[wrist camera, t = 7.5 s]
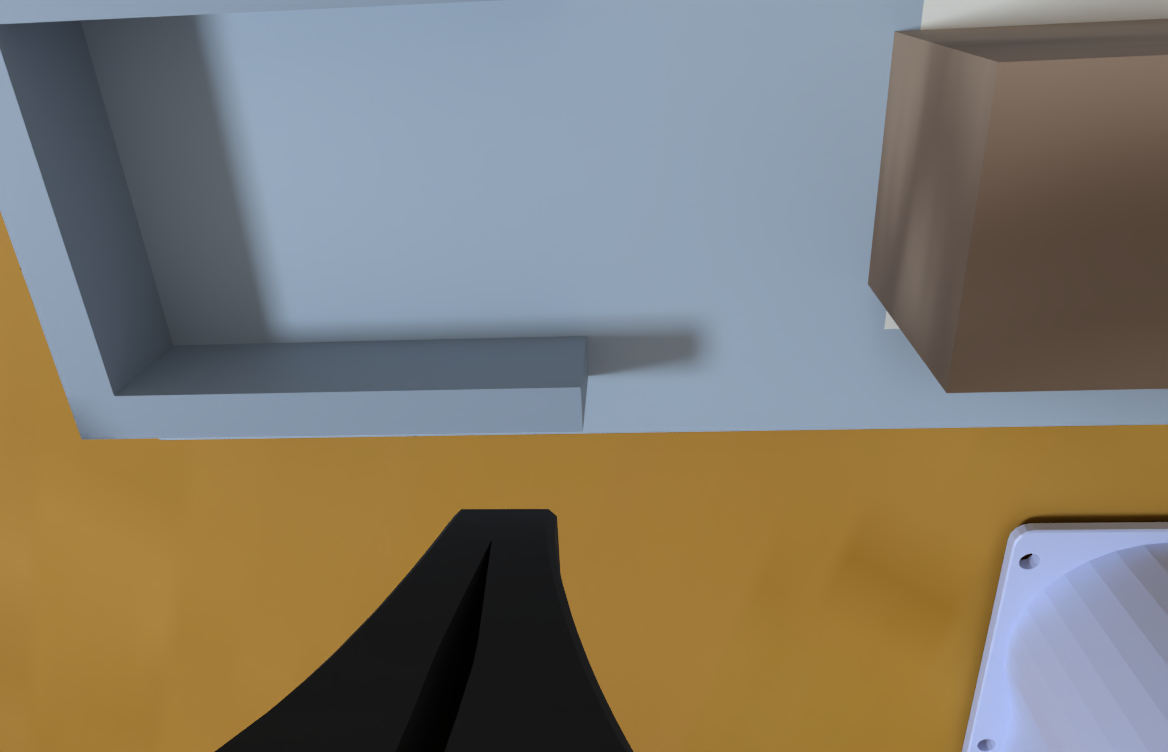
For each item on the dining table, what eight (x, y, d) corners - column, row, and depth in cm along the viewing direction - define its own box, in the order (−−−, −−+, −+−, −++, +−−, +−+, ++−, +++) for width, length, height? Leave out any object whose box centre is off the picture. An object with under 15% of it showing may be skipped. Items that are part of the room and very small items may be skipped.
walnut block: (1111, 277, 18) (1274, 386, 13) (867, 284, 18) (946, 393, 14) (1173, 18, 16) (1393, 44, 11) (894, 31, 16) (998, 62, 11)
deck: (1140, 383, 21) (1262, 485, 17) (197, 400, 22) (103, 499, 18) (1403, -575, 13) (1735, -800, 9) (-42, -453, 15) (-290, -603, 11)
